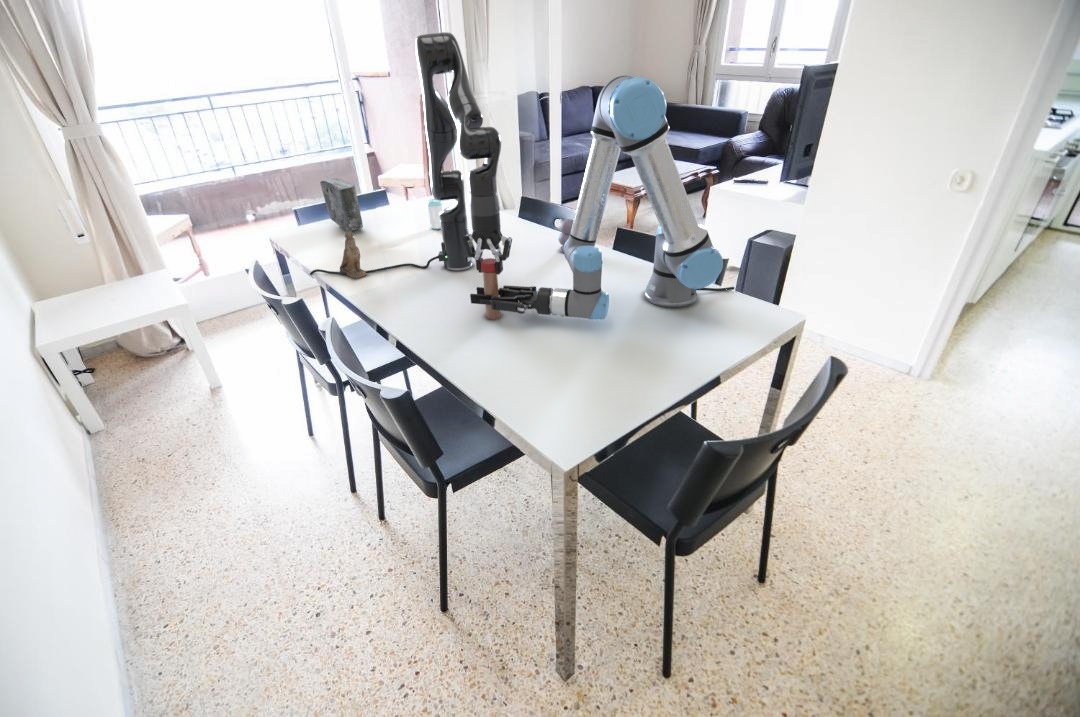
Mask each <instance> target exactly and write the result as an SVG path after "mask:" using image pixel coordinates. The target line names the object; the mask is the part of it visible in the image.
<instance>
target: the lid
mask: <svg viewBox="0 0 1080 717" xmlns="http://www.w3.org/2000/svg"><path fill="white" fill-rule="evenodd" d="M495 262H496V259H495V258H492V257H490V258H488V257H487V258H483V260H481V261H480V263H481V270H482V271H483V272H494V271H496V265H495ZM483 272H482V273H483Z"/></svg>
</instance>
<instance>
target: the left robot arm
mask: <svg viewBox="0 0 1080 717" xmlns="http://www.w3.org/2000/svg"><path fill="white" fill-rule="evenodd" d="M414 46H415V56H416V57H415V58H416V61H417V62H416V64H417V69H418V70H417V71H418V75H419V81H420V88H421V93H422V94H421V95H422V102H423V113H424V114H423V115H424V126H425V128H424V129H425V136H426V142H427V143H426V144H427V149H428V158H429V159H428V160H429V179H430V181H429V182H430V189H431V194H432V197H433V199H436V200H438V201H442V202H443V201H453V200H454V201H453V203H452V204H450V205H449V206H448V207H445V208H444V210H442V211H441V212H440V223H441V229H440V230H441V235H442V242H441V243H440V246H441V250H439V252H438V255H436V256H434V257H431V258H430V259H428V260H427V263H426V265H423V266H422V265H418V264H416V263H411V262H410V263H408V262H407V263H401V264H396V265H390V266H385V267H380V268H374V269H370V270H364V271H365V273H366V274H372V273H376V272H377V273H378V272H382V271H386V270H387V271H388V270H392V269H396V268H397V269H398V268H402V267H415V268H417V269H423V270H424V269H428V268H429V267H430V264H431V262H433V261H435V260H437V259H438V262H443V267H444V269H445V270H449V271H454V272H459V271H467V270H469V269H471V268H472V266H473V260H472V259H474V260H475V269H476V271H478V273H479V274H483V271H482V270H481V263H480V261H481V260H483V259H484V258H483V254H484V250H488V251H490V252H491V254H492V255H493V257H494V259H496V262H495V265H496V274H497V276H499V275H501V273H502V272H503V271H504V264H503V263H504V262H503V261H506V260H507V259H508V258H509V257H510V254H511V253H510V252H511V250H512V249H511V248H512V242H513V238H512V237H511V236H508V237H506V236H504V235H503V234H502V232H501V215H500V214H501V213H500V210H501V207H500V201H499V195H498V186H497V183H498V182H497V175H498V174H497V173H498V168H499V161H500V155H501V150H502V139H501V135H500V132H499V131H498V130H497V128H495V127H493V126H483V123H484V117H483V113H482V111H481V108H480V107H479V104H478V102H477V100H476V98H475V96H474V93H473V91H472V88H471V84H470V80H469V76H468V72H467V68H466V65H465V61H464V58H463V54H462V51H461V48H460V45H459V42H458V40H457V38H456V37H455V35H454V34H453V33H451V32H448V31H447V32H446V31H445V32H433V33H424V34H419V35H417V37H416V38H415V44H414ZM451 73H453V78H452V81H451V83H450V87H449V90H448V92H447V101H446V100H445V98H444V97H443V96H442V95H441V93H440V92H439V90H438V88H437V86H436V85H435V82H434V76H437V75H438V76H439V75H446V74H451ZM456 143H457V149H458V153H459V154H460V155H461V157H462V158H464V159H465V160H468V161H472V160H473V161H474V160H483V159H484V161H483V163H482V164H481V165H480V166H478V167H475V168H473V169H471V170H470V171H468V174H467V177H468V187H469V188H468V189H469V208H470V210H469V211H470V219H471V229H472V233H469V224H468V216H467V208H466V195H465V181H464V176H463V174H462V172H461V170H459V169H451V170H443V167H444V164H445V162H446V160H447V158H448V157H449V155H450V154H451V153H452V151H453V149H454V147H455V146H456ZM473 242H475V244H476V246H475V245H474V243H473ZM500 243H501V244H502V246H503V248H501V246H500ZM475 247H476V248H475ZM315 273H324V274H329V275H341V276H347V273H345V272H340V271H334V270H333V271H332V270H326V269H320V268H317V269H313V270H312V271H310V272H309V275H310V276H312V275H314V274H315Z"/></svg>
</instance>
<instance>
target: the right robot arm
mask: <svg viewBox="0 0 1080 717" xmlns="http://www.w3.org/2000/svg"><path fill="white" fill-rule="evenodd" d="M666 114H667V102H666V98H665V95H664V92H663V91H662V89H661V88H660V87H659V85H657V84H656V83H655V82H653V81H652V80H650V78H647V77H644V76H631V75H620V76H616V77H614V78H612V79H610V80H609V81H608V82H607V83H605V85H604V86H603V87H602V89H601V91H600V93H599V95H598V97H597V101H596V107H595V110H594V115H593V120H592V125H591V129H590V134H591V136H592V142H591V146H590V149H589V154H588V158H587V163H586V167H585V171H584V175H583V179H582V183H581V187H580V191H579V195H578V200H577V204H576V208H575V212H574V217H573V219H572V220H573V224H572V228H571V233H570V236H569V239H568V240H567V241H566V242H565V244H564V253H563V254H564V257H565V260H566V261H567V263H568V265H569V268H570V270H571V272H572V279H573V280H572V289H571V288H559V287H558V288H557V287H555V288H554V289H553V287H546V286H545V287H543V286H542V287H539V288H538V290H537V286H523V285H522V286H519V285H503V287H498V291H499V297H494V296H493V295H485V294H484V286H482V287H481V286H476V293H470V294H469V297H470V298H469V299H470V304H474V305H485V306H486V305H491V306H492V310H500V312H511V313H518V314H520V315H524V314H525V313H526V310H536V313H537V314H538V315H544V316H545V315H546V316H550V315H552V316H558V317H562V318H564V317H569V318H577V319H587V320H604V319H606V318H607V316H608V313H609V306H610V295H609V293H608V292H606V291H602V276H603V275H602V274H603V263H604V261H603V251H602V250H601V248H599V247H597V246H596V242H597V238H598V234H599V231H600V227H601V223H602V219H603V216H604V213H605V209H606V205H607V201H608V199H609V194H610V191H611V187H612V183H613V179H614V175H615V172H616V168H617V165H618V161H619V158H620V154H621V153H622V154H625V155H628V156H630V158H631V160H632V162H633V164H634V167H635V169H636V172H637V174H638V176H639V179H640V181H641V183H642V184H641V185H642V186H643V189H644V191H645V193H646V196H647V198H648V200H649V202H650V205H651V207H652V210H653V212H654V215H655V217H656V219H657V222H658V226H657V228H656V233H655V243H654V244H655V245H654V255H653V256H654V259H653V269H652V274H651V276H650V279H649V280H648V282H647V285H646V287H645V290H644V298H645V299H646V301H647V302H648V303H651V304H652V305H655V306H659V307H663V308H669V309H670V308H672V309H673V308H674V309H676V308H677V309H678V308H684V307H688V306H691V305H693V304H694V303H695V302H696V300H697V291H704V292H705V291H707V292H708V291H709V292H726V291H727V292H728V291H733V290H735V286H729V287H719V288H716V287H708V286H710V285H712V284H713V283H714V282H715V281H716V280H717V279H718V278H719V277H720V276H719V275H720V274H721V273H722V271H723V268H724V259H723V256H722V255H721V253H720V251H719V250H718V249H717V248H715V247H714V245H713V243H712V239H711V236H710V234H709V232H708V229H707V227H706V226H704V225H702V224H699V223H698V219H697V218H696V215H695V212H694V210H693V207H692V204H691V203H690V198H689V197H688V193H687V191H686V188H685V185H684V184H683V181H682V178H681V175H680V172H679V170H678V167H677V164H676V162H675V159H674V157H673V154H672V151H671V148H670V146H669V143H668V141H667V135H668V133H669V131H670V125H669V123H668V120H667V117H666ZM726 289H727V290H726Z"/></svg>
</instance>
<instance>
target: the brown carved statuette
mask: <svg viewBox="0 0 1080 717" xmlns="http://www.w3.org/2000/svg"><path fill="white" fill-rule="evenodd" d="M343 236H344V238H346V239H345V240H344V249H343V253H342V254H343V255H342V261H341V264H340V266H339V272H345V273H347V275H346V276H347V277H350V278H352V279H356V280H357V279H360V278H362V277H366V276H367V273H365V271H366V270H363V269H362V268H361V252H360V249H359V247H358V246H357V244H356V243H357V242H356V239H355V237H354V234H353V230H352V231H350V230H348V231H347V230H345V232H344V234H343Z"/></svg>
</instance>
